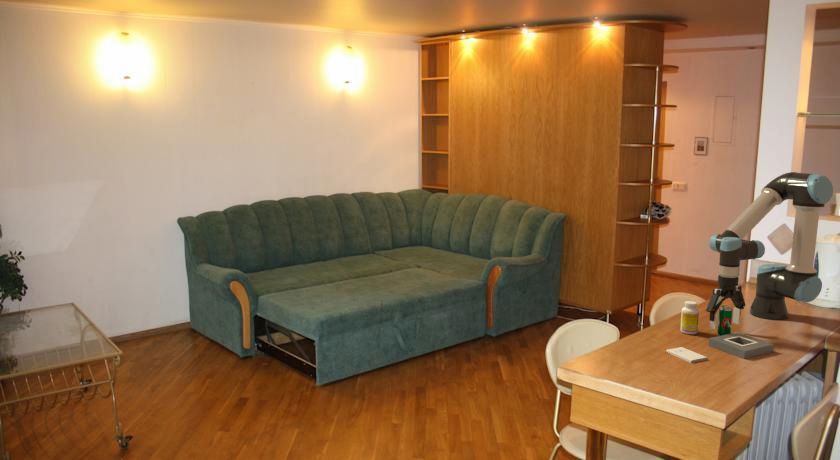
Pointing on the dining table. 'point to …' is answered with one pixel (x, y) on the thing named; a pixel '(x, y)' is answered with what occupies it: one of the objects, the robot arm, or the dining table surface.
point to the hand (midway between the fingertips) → (724, 326)
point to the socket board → (741, 345)
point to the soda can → (724, 320)
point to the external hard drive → (686, 354)
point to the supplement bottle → (689, 318)
